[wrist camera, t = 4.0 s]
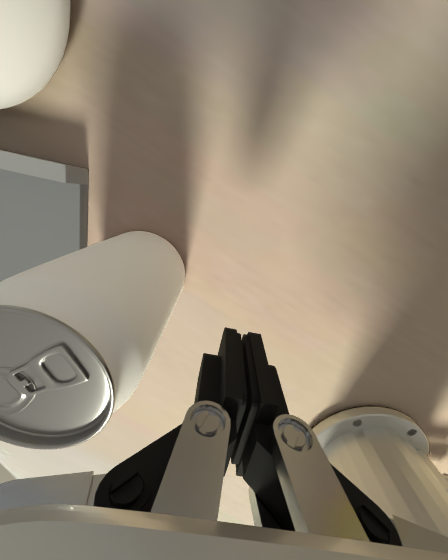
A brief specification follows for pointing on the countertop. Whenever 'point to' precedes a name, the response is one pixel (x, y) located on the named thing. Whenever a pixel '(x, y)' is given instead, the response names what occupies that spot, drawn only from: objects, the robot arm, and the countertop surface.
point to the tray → (40, 211)
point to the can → (82, 336)
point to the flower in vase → (30, 46)
